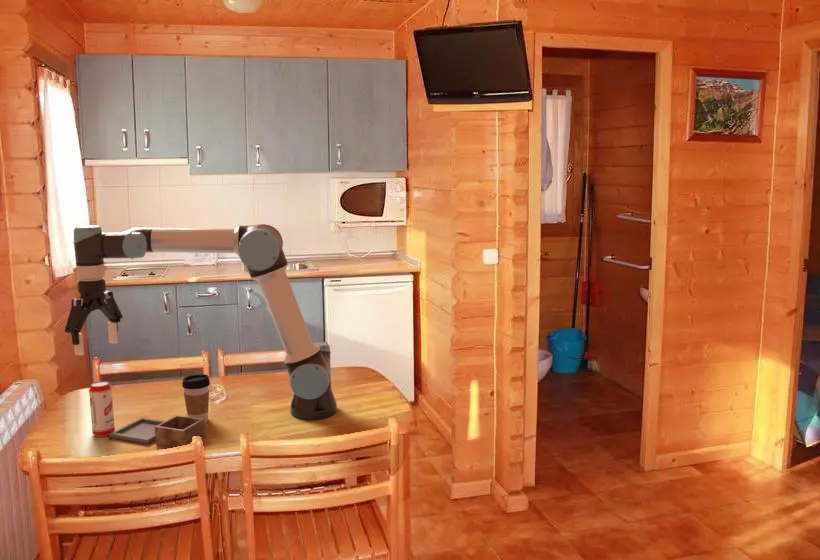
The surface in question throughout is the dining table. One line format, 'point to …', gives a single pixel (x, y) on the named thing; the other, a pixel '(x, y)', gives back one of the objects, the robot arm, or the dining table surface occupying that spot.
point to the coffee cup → (196, 395)
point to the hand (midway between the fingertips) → (97, 349)
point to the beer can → (101, 408)
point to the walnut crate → (179, 431)
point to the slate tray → (137, 431)
